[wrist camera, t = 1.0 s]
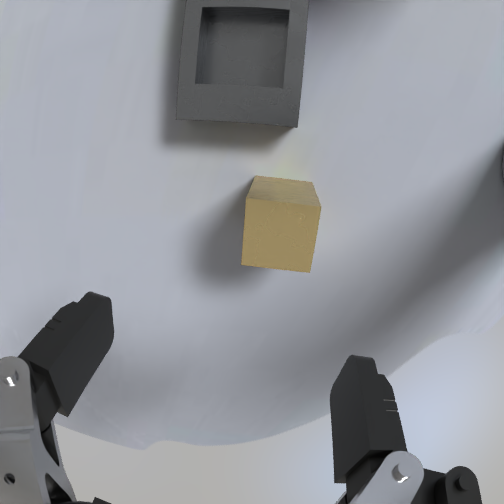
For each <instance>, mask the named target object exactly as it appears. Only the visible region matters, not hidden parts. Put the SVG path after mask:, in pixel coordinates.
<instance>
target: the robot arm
mask: <svg viewBox="0 0 504 504" xmlns="http://www.w3.org/2000/svg"><path fill="white" fill-rule="evenodd" d="M502 170H503V179H504V153H503V162H502ZM113 338H114V326H113V315H112V303H111V299H110V298H109V297H106V296H103V295H99V294H96V293H93V292H88V293H86V294H85V295H84V297H83V298H82V299H81V300H80V301H79V302H78V303H76V302H74V301H73V302H71V303H69V304H68V305H66V306H64V307H62V308H60V310H59V311H58V312H57V313H56V314H55V315H54V316H53V317H52V320H49V322H48V323H47V324H46V325H45V328H44V327H43V328H42V329H41V331H40V332H39V333H38V334H37V335H36V336H35V337H34V339H33V340H32V341H31V342H30V343H29V344H28V346H27V347H26V348H25V349H24V350H23V351H22V353H21V354H20V355H19V356H18V357H13V356H9V357H4V358H2V359H0V504H111V503H108V502H106V501H103V500H101V499H99V498H96V497H95V498H94V501H93V503H90V502H82V501H77V500H76V498H75V494H74V492H73V489H72V486H71V484H70V482H69V479H68V478H67V475H66V473H65V470H64V467H63V464H62V459H61V455H60V451H59V446H58V441H57V436H56V431H55V426H54V421H53V418H54V416H55V414H56V413H57V412H58V413H60V414H62V415H64V416H66V417H68V416H69V414H70V413H71V411H72V409H73V407H74V406H75V404H76V402H77V401H78V399H79V397H80V396H81V394H82V392H83V391H84V389H85V387H86V386H87V384H88V382H89V381H90V379H91V378H92V376H93V374H94V373H95V371H96V370H97V368H98V366H99V365H100V363H101V362H102V360H103V358H104V357H105V355H106V354H107V352H108V351H109V349H110V347H111V345H112V342H113ZM330 409H331V423H332V439H333V459H334V483H346V488H347V489H346V490H347V491H346V492H344V493H343V494H342V496H341V497H340V498H339V499H338V501H337V502H336V503H335V504H482V500H481V495H480V490H479V485H478V481H477V478H476V476H475V474H474V473H473V472H472V471H471V470H470V469H468V468H467V467H463V466H457V467H454V468H453V469H451V470H450V471H449V472H447V473H446V474H444V473H440V472H436V471H431V470H427V469H424V468H423V466H422V464H421V462H420V461H419V459H418V458H417V457H416V456H414V455H413V454H411V453H409V452H408V451H407V448H406V443H405V439H404V434H403V430H402V425H401V421H400V417H399V413H398V412H397V410H398V408H397V404H396V402H395V396H394V393H393V389H392V386H391V385H390V383H389V382H388V380H387V379H386V377H385V376H384V375H382V374H378V373H377V369H376V365H375V361H374V359H373V358H370V357H363V356H356V355H351V356H349V358H348V359H347V361H346V363H345V365H344V366H343V368H342V370H341V372H340V374H339V375H338V377H337V379H336V381H335V382H334V384H333V387H332V390H331V394H330Z"/></svg>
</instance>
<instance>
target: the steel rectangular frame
mask: <svg viewBox="0 0 504 504" xmlns="http://www.w3.org/2000/svg"><path fill="white" fill-rule="evenodd" d="M308 4H309V0H186V8H185V16H184V24H183V34H182V43H181V54H180V65H179V78H178V92H177V110H176V120H210V121H230V122H245V123H257V124H268V125H278V126H287V127H296V128H297V127H298V118H299V108H300V98H301V88H302V77H303V66H304V55H305V43H306V31H307V18H308Z"/></svg>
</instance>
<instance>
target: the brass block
mask: <svg viewBox="0 0 504 504" xmlns="http://www.w3.org/2000/svg"><path fill="white" fill-rule="evenodd" d="M320 212H321V204H320V202H319V199H318V196H317V194H316V191H315V188H314V186H313V183H312V182H307V181H299V180H291V179H282V178H273V177H264V176H255V178H254V180H253V183H252V185H251V188H250V190H249V193H248V195H247V197H246V207H245V220H244V233H243V247H242V260H241V265H246V266H255V267H263V268H272V269H281V270H290V271H299V272H308V273H310V269H311V264H312V259H313V253H314V248H315V242H316V236H317V230H318V225H319V219H320Z"/></svg>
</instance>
